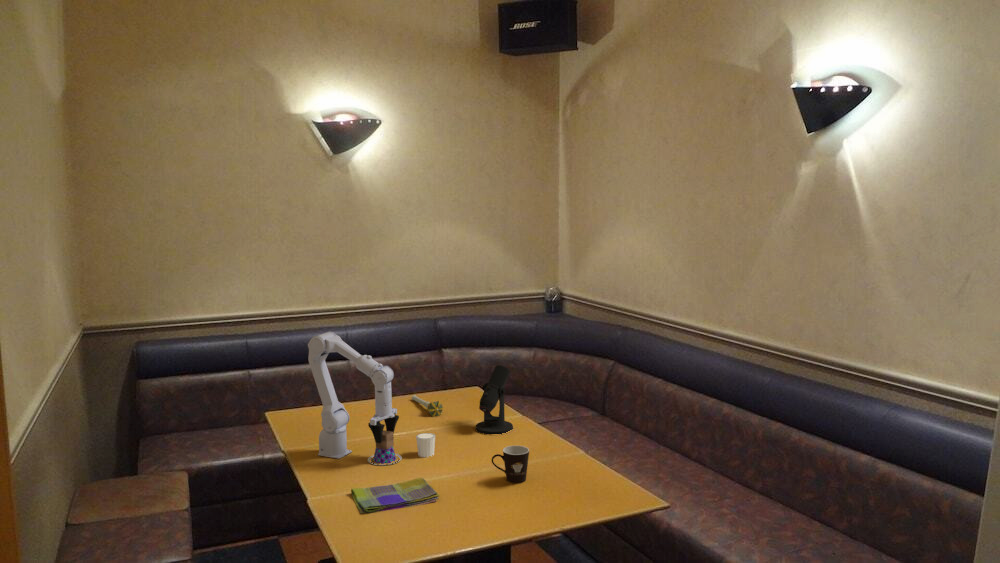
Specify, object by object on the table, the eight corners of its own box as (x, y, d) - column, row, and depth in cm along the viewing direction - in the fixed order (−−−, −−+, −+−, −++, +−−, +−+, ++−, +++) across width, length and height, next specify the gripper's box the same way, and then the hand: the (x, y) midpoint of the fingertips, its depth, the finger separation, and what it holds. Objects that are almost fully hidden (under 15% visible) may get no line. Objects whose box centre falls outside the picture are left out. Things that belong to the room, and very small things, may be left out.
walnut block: (375, 447, 254) (375, 434, 254) (382, 443, 258) (382, 430, 258) (386, 449, 253) (386, 435, 252) (393, 445, 257) (393, 431, 256)
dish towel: (350, 494, 228) (349, 485, 228) (424, 482, 237) (424, 474, 237) (361, 517, 212) (361, 508, 212) (441, 503, 221) (441, 494, 221)
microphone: (521, 426, 293) (521, 365, 290) (498, 438, 278) (498, 374, 275) (490, 420, 301) (490, 360, 298) (466, 431, 286) (466, 369, 283)
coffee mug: (532, 476, 240) (532, 447, 239) (524, 486, 232) (524, 456, 231) (499, 472, 244) (499, 443, 243) (490, 481, 236) (490, 451, 235)
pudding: (376, 469, 248) (375, 454, 247) (362, 459, 258) (361, 445, 257) (407, 462, 255) (407, 447, 254) (392, 452, 264) (392, 438, 264)
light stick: (420, 389, 332) (445, 401, 305) (421, 403, 332) (446, 416, 305) (406, 391, 329) (430, 403, 302) (406, 405, 329) (430, 419, 302)
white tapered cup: (432, 458, 257) (432, 439, 256) (414, 457, 258) (413, 438, 257) (438, 451, 264) (437, 433, 263) (419, 450, 265) (419, 432, 264)
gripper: (381, 408, 245) (382, 447, 247) (404, 397, 259) (404, 434, 260) (364, 406, 248) (365, 444, 250) (387, 395, 261) (388, 431, 263)
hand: (384, 439), depth 255 cm, fingers open, 7 cm apart
